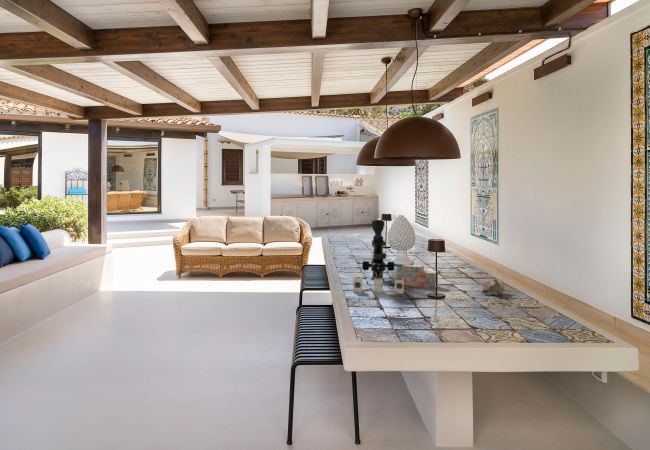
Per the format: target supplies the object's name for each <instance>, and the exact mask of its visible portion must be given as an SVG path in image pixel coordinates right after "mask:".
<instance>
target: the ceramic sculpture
mask: <svg viewBox="0 0 650 450" xmlns="http://www.w3.org/2000/svg"><path fill="white" fill-rule="evenodd" d="M504 291H505V285H504V283H503V282H502V281H501V279H499V280H497V279H494V280H493V281H491V282H490V283H488V285H487V287H484V288H483V289H482V290H481V293H482V294H490V295H493V296H497V297H498V296H500V295H501V294H502V293H503V292H504Z"/></svg>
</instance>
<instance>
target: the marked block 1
mask: <svg viewBox="0 0 650 450" xmlns="http://www.w3.org/2000/svg"><path fill="white" fill-rule="evenodd" d="M352 285H353V286H352V293H360V294H361V293H362V292H363V277H361V276H360V277H358V276H356V277H355V276H354V277H352Z"/></svg>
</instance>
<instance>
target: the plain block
mask: <svg viewBox="0 0 650 450" xmlns="http://www.w3.org/2000/svg"><path fill="white" fill-rule="evenodd" d="M383 278H384V277H383ZM383 278H374V280H373V294H383V293H384V292H383V290H384V285H383V284H384V283H383V282H384V281H383Z"/></svg>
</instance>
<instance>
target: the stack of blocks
mask: <svg viewBox="0 0 650 450" xmlns="http://www.w3.org/2000/svg"><path fill="white" fill-rule="evenodd" d="M424 268H425V267H424V265H418V264H407V263H406V264H405V263H404V264H403V265H401V278H403V279H404V286H409V287H418V286H419V288H426V289H427V288H428V289H436V288H438V285H439V284H438V283H439V271H434V270H433V271H431V270H425V269H424ZM436 272H437V287H436V288H435V283H436Z"/></svg>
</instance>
